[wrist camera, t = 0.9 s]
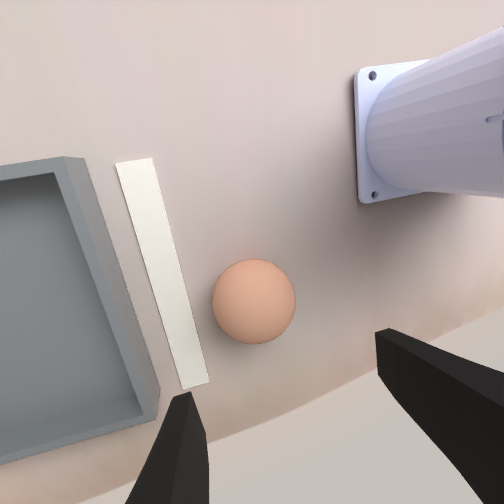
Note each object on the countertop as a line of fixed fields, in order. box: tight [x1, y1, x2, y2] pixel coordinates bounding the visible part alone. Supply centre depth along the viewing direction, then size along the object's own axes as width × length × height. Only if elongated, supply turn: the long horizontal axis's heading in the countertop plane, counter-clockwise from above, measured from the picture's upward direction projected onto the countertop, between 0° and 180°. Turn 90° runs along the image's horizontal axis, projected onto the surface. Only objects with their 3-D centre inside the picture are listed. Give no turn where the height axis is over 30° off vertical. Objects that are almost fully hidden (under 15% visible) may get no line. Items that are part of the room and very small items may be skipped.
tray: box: [0, 156, 160, 465], centre depth 16 cm, size 12×16×3 cm
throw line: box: [115, 158, 210, 390], centre depth 18 cm, size 2×16×1 cm, turn 9°
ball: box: [212, 259, 296, 344], centre depth 17 cm, size 5×5×5 cm
